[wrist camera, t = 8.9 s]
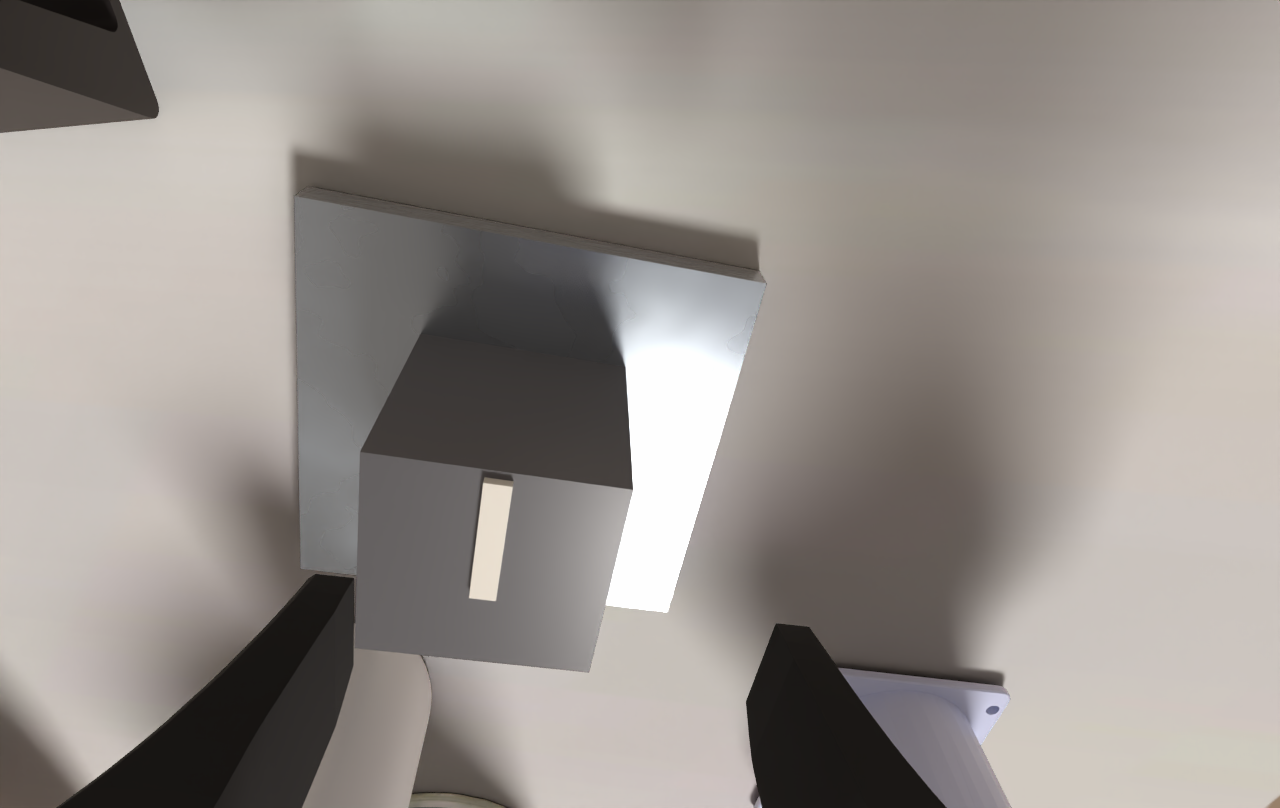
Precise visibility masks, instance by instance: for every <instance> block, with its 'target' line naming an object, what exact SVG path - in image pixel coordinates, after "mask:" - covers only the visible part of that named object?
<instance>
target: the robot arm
mask: <svg viewBox="0 0 1280 808" xmlns="http://www.w3.org/2000/svg"><path fill="white" fill-rule="evenodd" d="M353 666H354V578H347V577H338V576H328V575H319V574H315V575H314V576H312V577H310V578H309V579H308V580H307V581H306V582H305V583H304V585H303V586H302V587H301V588H300V589H299V590H298V592H297V593H296V594H295V595H294V596H293V597H292V598H291V599H290V601H289V602H288V603H287V604H286V605H285V606H284V607H283V608H282V609H281V611H280V612H279V613H278V614H277V615H276V616H275V617H274V618H273V619H272V620H271V621H270V622H269V623H268V624H267V626H266V627H265V628H264V629H263V630H262V631H261V632H260V633H259V634H258V635H257V636H256V637H255V638H254V639H253V640H252V641H251V642H250V643H249V644H248V645H247V646H246V647H245V648H244V649H243V650H242V651H241V652H240V653H239V654H238V655H237V656H236V657H235V658H234V659H233V660H232V661H231V662H230V663H229V664H228V665H227V666H226V667H225V668H224V669H223V670H222V671H221V672H220V673H219V674H218V675H217V676H216V677H215V678H214V679H213V680H212V681H211V682H209V683H208V684H207V685H206V686H205V687H204V688H203V689H202V690H201V691H200V692H198V693H197V694H196V695H195V696H194V697H193V698H192V699H191V700H190V701H188V702H187V703H186V704H185V705H184V706H183V707H182V708H181V709H180V710H179V711H177V712H176V713H175V714H174V715H173V716H172V717H171V718H170V719H169V720H167V721H166V722H165V723H164V724H163V725H162V726H160V727H159V728H158V729H157V730H156V731H155V732H153V733H152V734H151V735H150V736H149V737H147V738H146V739H145V740H144V741H143V742H141V743H140V744H139V745H138V746H137V747H135V748H134V749H133V750H132V751H130V752H129V753H128V754H127V755H125V756H124V757H123V758H122V759H120V760H119V761H118V762H117V763H115V764H114V765H113V766H112V767H110V768H109V769H108V770H106V771H105V772H104V773H103V774H101V775H100V776H99V777H97V778H96V779H95V780H94V781H92V782H91V783H89V784H88V785H87V786H85V787H84V788H83V789H81V790H80V791H79V792H77V793H76V794H74V795H73V796H72V797H70V798H69V799H68V800H66V801H65V802H64V803H62V804H61V805H60V806H58V807H57V808H302V807H303V804H304V802H305V799H306V797H307V795H308V792H309V790H310V787H311V785H312V783H313V780H314V778H315V776H316V773H317V771H318V768H319V766H320V763H321V761H322V759H323V756H324V754H325V751H326V749H327V746H328V744H329V742H330V739H331V737H332V734H333V732H334V729H335V727H336V724H337V720H338V717H339V714H340V710H341V707H342V704H343V700H344V697H345V694H346V690H347V687H348V683H349V680H350V676H351V673H352V669H353ZM1009 701H1010V695H1009V693H1008V692H1007V690H1006V689H1005V688H1004V687H1002V686H998V685H989V684H980V683H971V682H962V681H953V680H944V679H935V678H926V677H917V676H908V675H899V674H890V673H882V672H873V671H864V670H855V669H846V668H838V667H837V666H836V665H835V663H834V662H833V660H832V659H831V657H830V656H829V655H828V653H827V652H826V650H825V649H824V648H823V646H822V645H821V643H820V642H819V640H818V639H817V638H816V636H815V635H814V633H813V632H812V631H811V629H810V628H809V627H804V626H795V625H786V624H776V625H775V627H774V630H773V633H772V635H771V638H770V640H769V643H768V646H767V648H766V651H765V653H764V656H763V659H762V661H761V664H760V667H759V669H758V672H757V674H756V677H755V680H754V682H753V685H752V687H751V690H750V693H749V695H748V698H747V701H746V706H747V718H748V729H749V739H750V748H751V757H752V763H753V768H754V773H755V778H756V782H757V787H758V792H759V797H758V799H757V801H756V803H755V806H754V808H1011V806H1010V804H1009V802H1008V800H1007V798H1006V796H1005V794H1004V792H1003V790H1002V788H1001V786H1000V784H999V782H998V779H997V777H996V775H995V773H994V771H993V769H992V767H991V765H990V763H989V761H988V759H987V757H986V755H985V753H984V751H983V749H982V747H981V744H982V743H983V741H984V740H985V738H986V737H987V735H988V734H989V732H990V731H991V729H992V728H993V726H994V724H995V723H996V721H997V720H998V718H999V717H1000V715H1001V714H1002V712H1003V711H1004V709H1005V708H1006V706H1007V705H1008V703H1009Z"/></svg>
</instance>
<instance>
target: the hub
mask: <svg viewBox="0 0 1280 808" xmlns="http://www.w3.org/2000/svg"><path fill="white" fill-rule="evenodd" d="M294 217H295V275H296V333H297V392H298V450H299V509H300V567H301V569H307V570H315V571H324V572H332V573H341V574H349V575H357V542H358V505H359V468H360V451H361V449H362V447H363V445H364V443H365V441H366V439H367V437H368V435H369V433H370V431H371V429H372V427H373V425H374V423H375V422H376V420H377V418H378V416H379V414H380V412H381V410H382V408H383V406H384V404H385V402H386V400H387V398H388V396H389V394H390V392H391V390H392V388H393V386H394V384H395V382H396V381H397V379H398V377H399V375H400V373H401V371H402V369H403V367H404V365H405V363H406V361H407V359H408V357H409V355H410V353H411V351H412V349H413V347H414V345H415V343H416V341H417V340H418V338H419V336H420V334H426V335H433V336H439V337H445V338H451V339H457V340H464V341H470V342H476V343H482V344H488V345H494V346H501V347H507V348H513V349H519V350H525V351H531V352H538V353H544V354H550V355H556V356H562V357H569V358H575V359H581V360H587V361H593V362H599V363H606V364H612V365H618V366H624V367H626V380H627V395H628V411H629V426H630V441H631V456H632V471H633V487H634V491H633V495H632V499H631V503H630V507H629V511H628V515H627V520H626V524H625V528H624V532H623V536H622V540H621V544H620V548H619V552H618V556H617V561H616V565H615V569H614V573H613V577H612V581H611V585H610V589H609V593H608V597H607V602H606V605H610V606H619V607H627V608H636V609H644V610H653V611H661V612H667V611H668V608H669V604H670V601H671V598H672V594H673V591H674V588H675V585H676V581H677V578H678V575H679V571H680V568H681V565H682V561H683V558H684V555H685V552H686V548H687V545H688V542H689V538H690V535H691V532H692V528H693V525H694V522H695V519H696V515H697V512H698V509H699V505H700V502H701V499H702V495H703V492H704V489H705V486H706V482H707V479H708V476H709V472H710V469H711V466H712V462H713V459H714V456H715V453H716V449H717V446H718V443H719V439H720V436H721V433H722V429H723V426H724V423H725V420H726V416H727V413H728V410H729V406H730V403H731V400H732V396H733V393H734V390H735V387H736V383H737V380H738V377H739V373H740V370H741V367H742V363H743V360H744V357H745V354H746V350H747V347H748V344H749V340H750V337H751V334H752V330H753V327H754V324H755V321H756V317H757V314H758V311H759V307H760V304H761V301H762V297H763V294H764V291H765V288H766V284H767V283H766V281H765V280H764V278H763V276H762V274H761V272H760V271H758V270H752V269H747V268H742V267H736V266H731V265H726V264H720V263H715V262H709V261H704V260H699V259H693V258H688V257H683V256H677V255H672V254H667V253H661V252H656V251H651V250H645V249H640V248H635V247H629V246H624V245H619V244H613V243H608V242H603V241H597V240H592V239H587V238H581V237H576V236H571V235H565V234H560V233H555V232H549V231H544V230H539V229H533V228H528V227H523V226H517V225H512V224H507V223H501V222H496V221H491V220H485V219H480V218H475V217H469V216H464V215H459V214H453V213H448V212H443V211H437V210H432V209H427V208H421V207H416V206H411V205H405V204H400V203H395V202H389V201H384V200H379V199H373V198H368V197H363V196H357V195H352V194H347V193H341V192H336V191H331V190H325V189H320V188H315V187H309V186H308V187H306V188H305V189H304V190H302V191H301V192H299V193H298V194H296V195H295V196H294Z"/></svg>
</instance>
